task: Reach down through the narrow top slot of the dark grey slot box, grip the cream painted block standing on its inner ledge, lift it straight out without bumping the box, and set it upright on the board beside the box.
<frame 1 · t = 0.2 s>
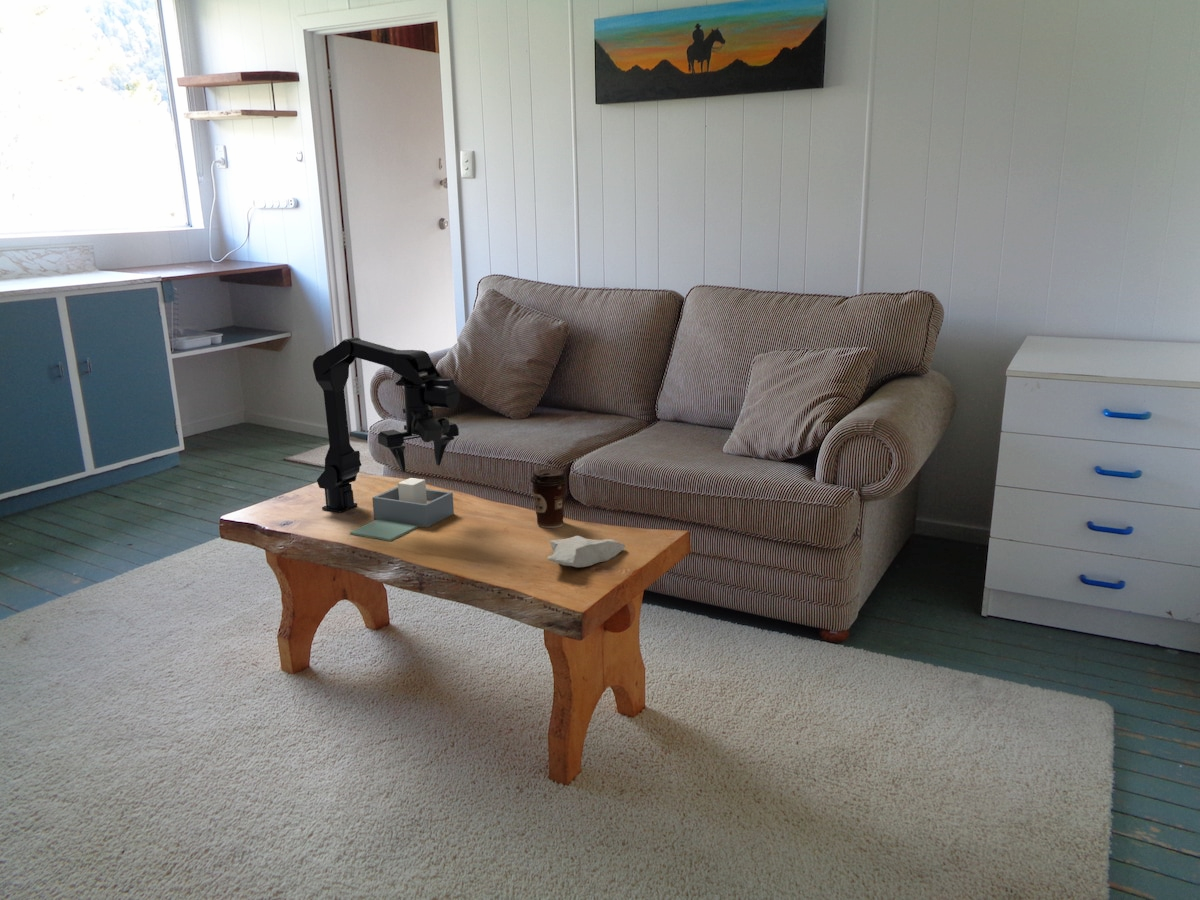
hand: (421, 468, 220), 13 cm above the table, fingers open, 9 cm apart
slot box: (414, 516, 227), on the table, touching block
board: (384, 530, 217), on the table
coffee cup: (550, 525, 219), on the table
rock: (576, 560, 197), on the table
block: (413, 504, 226), point 3 cm above the table, touching slot box
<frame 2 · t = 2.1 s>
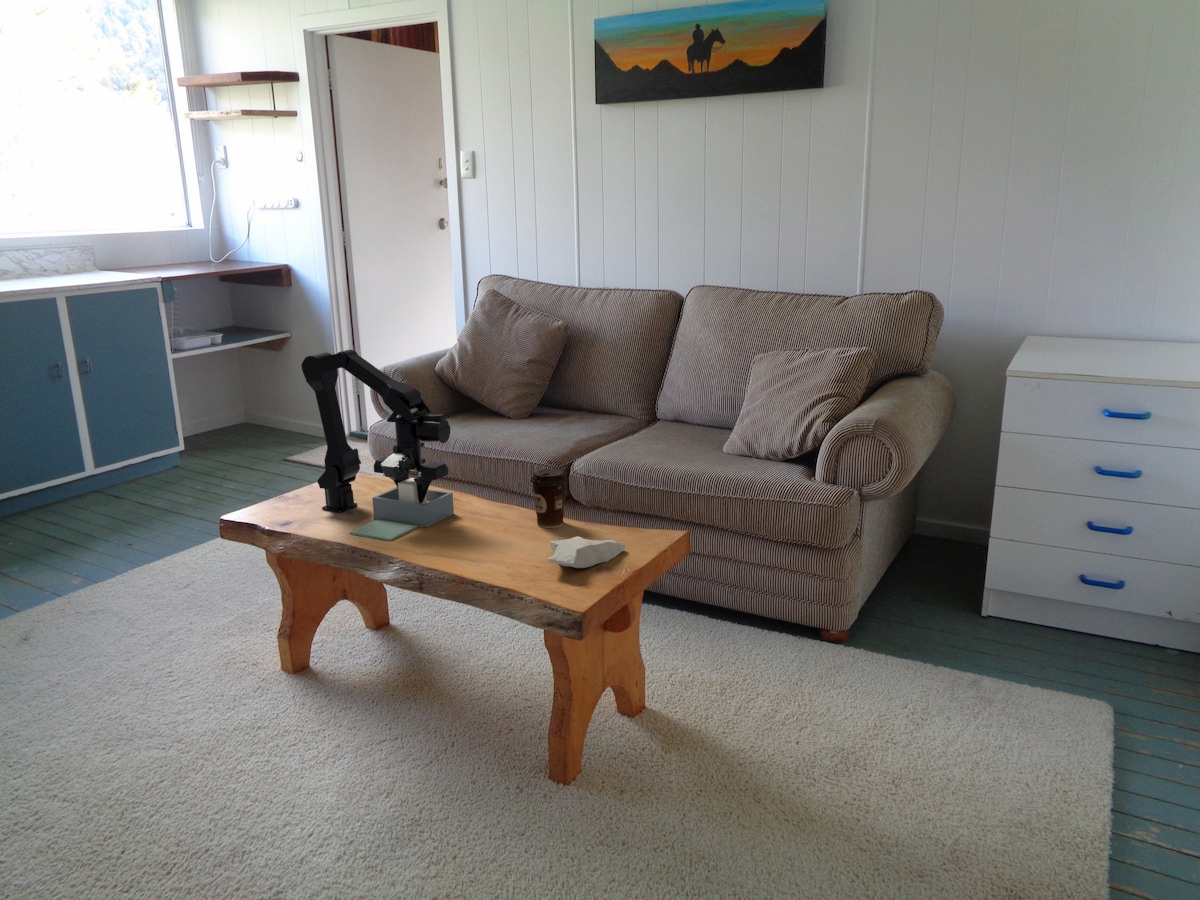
hand: (413, 501, 226), 4 cm above the table, fingers closed on block, 4 cm apart
block: (413, 504, 226), point 3 cm above the table, touching gripper, slot box
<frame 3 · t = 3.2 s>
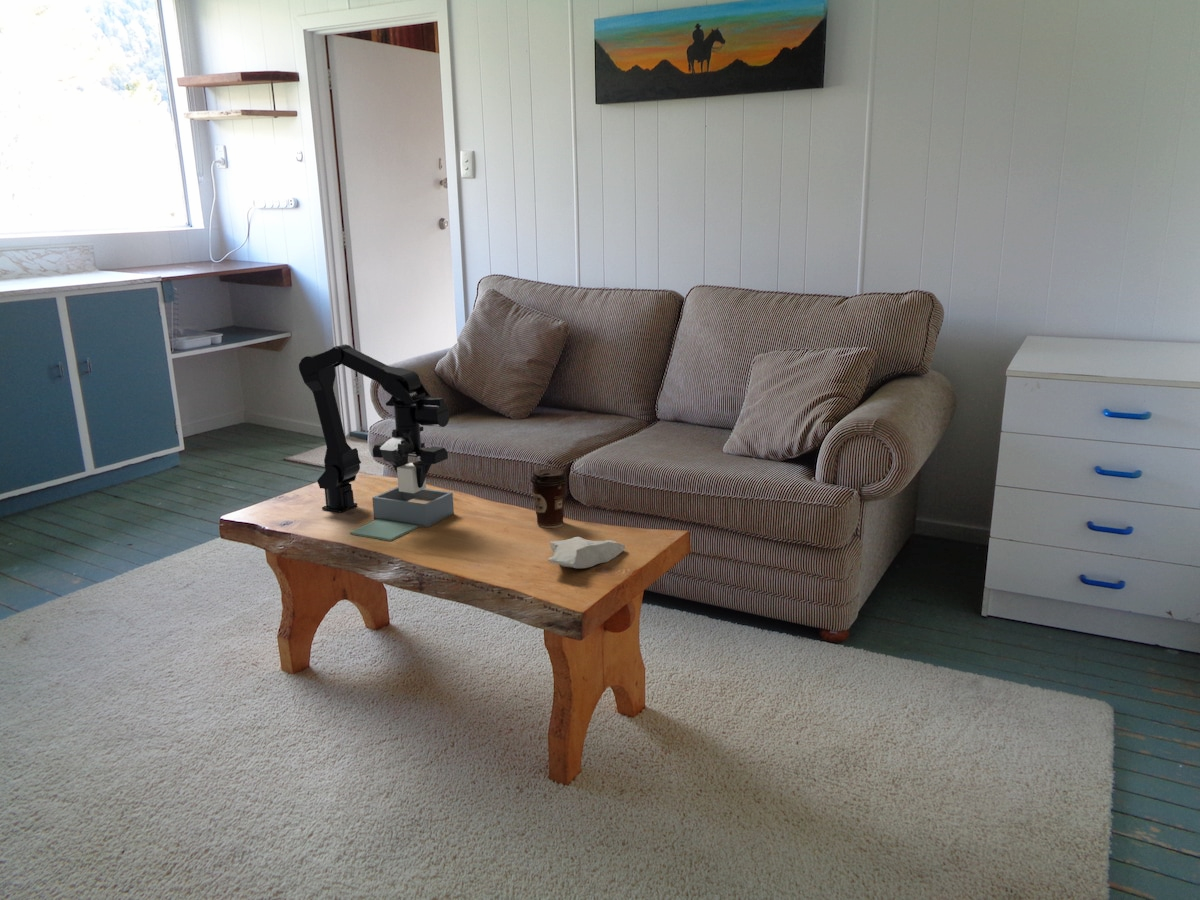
hand: (412, 486, 225), 8 cm above the table, fingers closed on block, 4 cm apart
slot box: (414, 516, 227), on the table
block: (412, 489, 225), point 7 cm above the table, touching gripper
everything else where it was.
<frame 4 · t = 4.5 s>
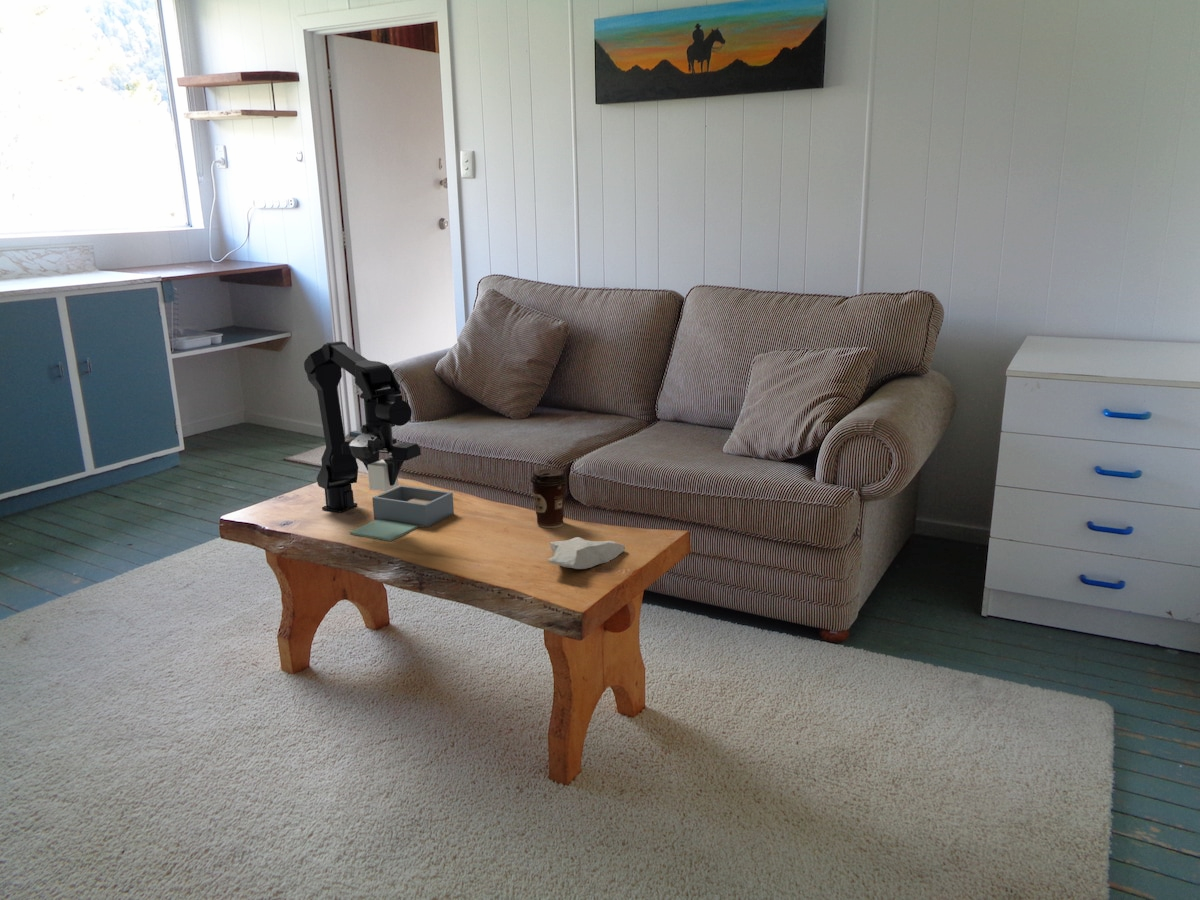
hand: (383, 484, 215), 11 cm above the table, fingers closed on block, 4 cm apart
block: (384, 487, 215), point 10 cm above the table, touching gripper
everything else where it was.
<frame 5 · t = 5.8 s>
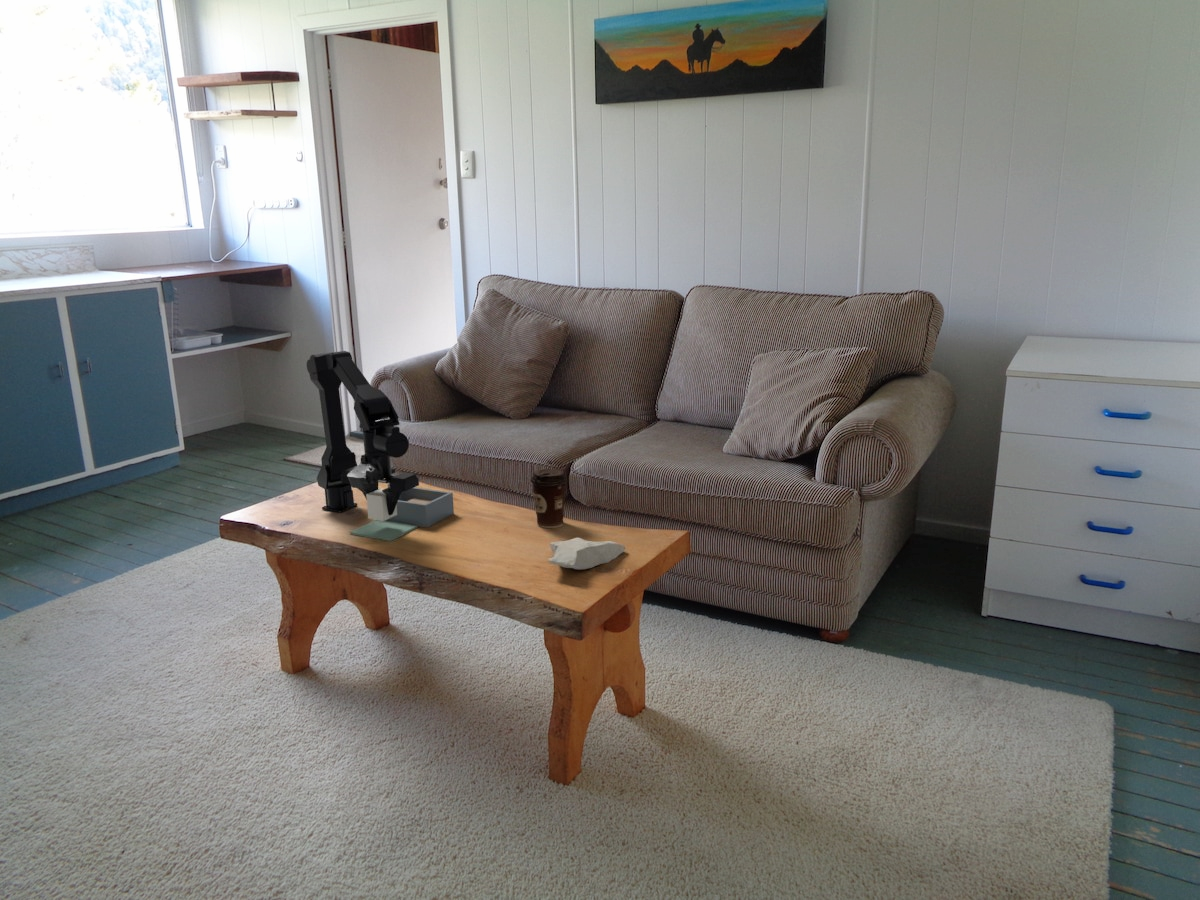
hand: (382, 513, 216), 4 cm above the table, fingers closed on block, 4 cm apart
block: (382, 516, 216), point 3 cm above the table, touching gripper
when the fingers open (3 cm above the table, at t = 6.9 s): block drops 1 cm, resting on board.
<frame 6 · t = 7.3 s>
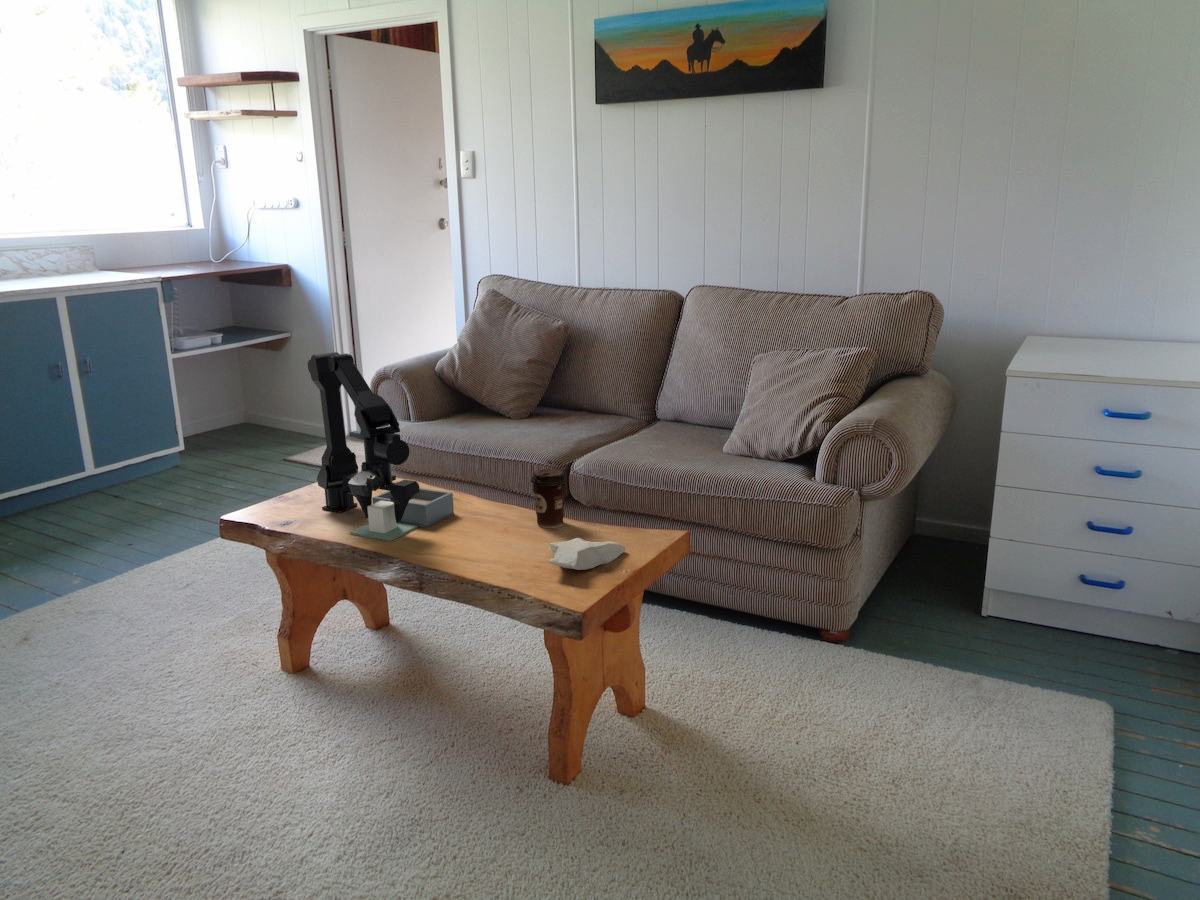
hand: (383, 520, 216), 3 cm above the table, fingers open, 9 cm apart
block: (383, 528, 217), resting on board
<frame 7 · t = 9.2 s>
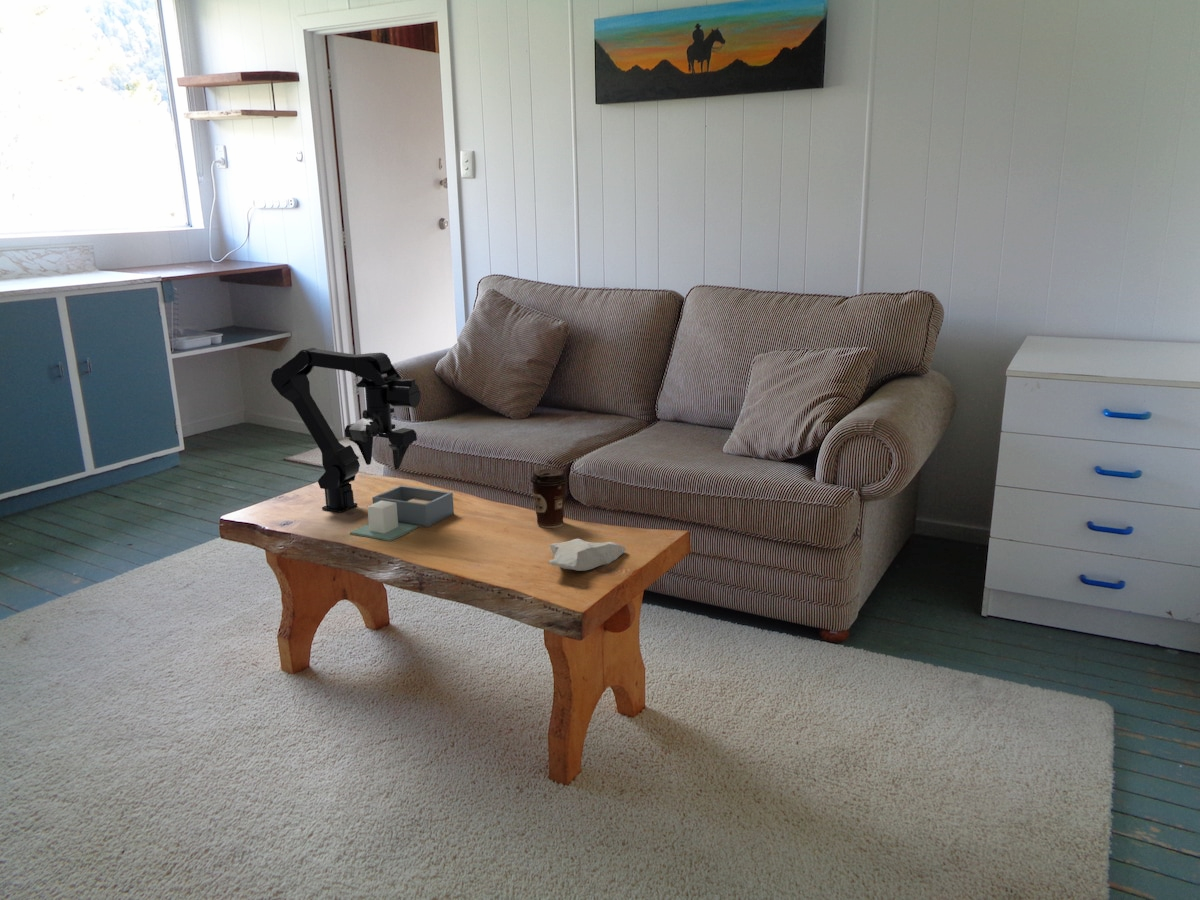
hand: (382, 466, 227), 12 cm above the table, fingers open, 9 cm apart
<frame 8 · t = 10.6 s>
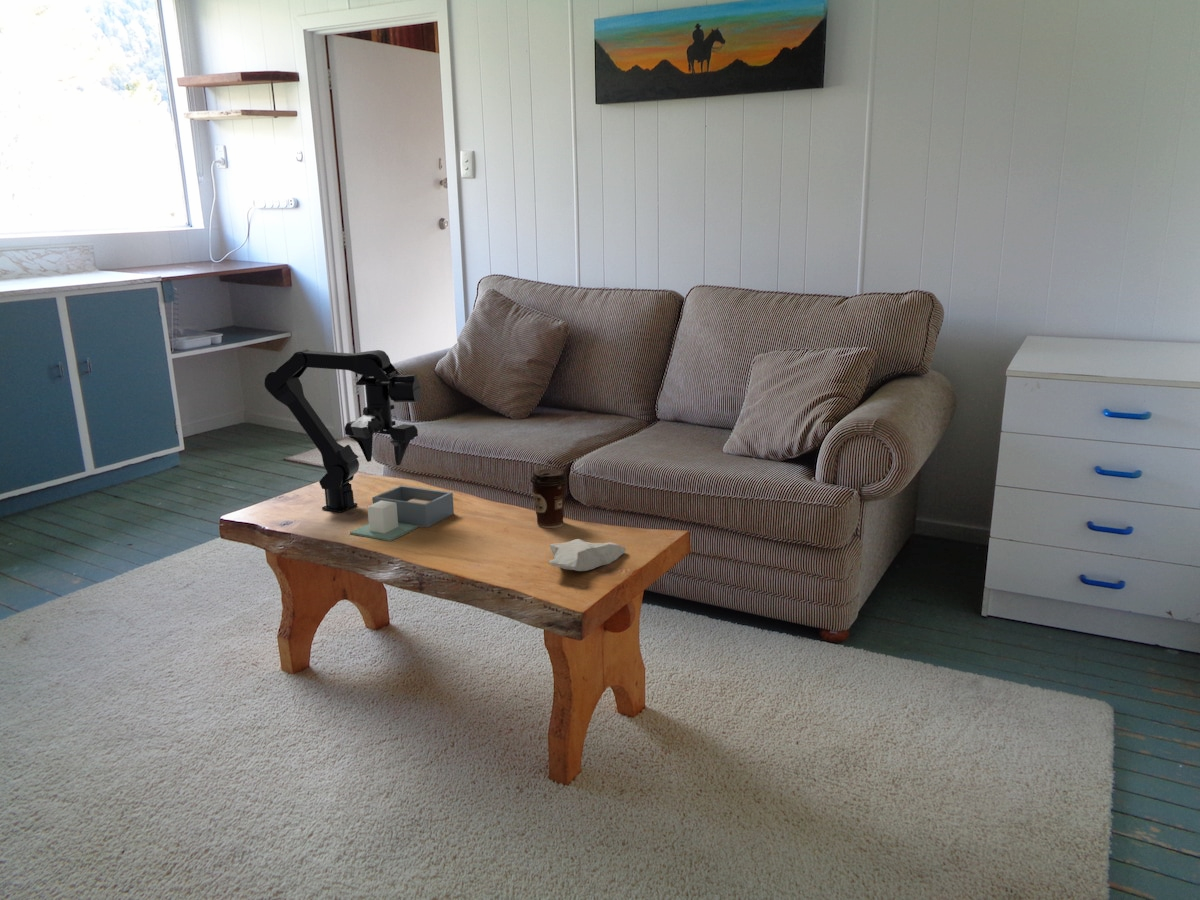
hand: (383, 463, 230), 12 cm above the table, fingers open, 9 cm apart
at the end: block inside the target area on the board (0.0 cm from its centre), point 0.5 cm above the board's base; block tilted 0°; slot box moved 0.0 cm from its start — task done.
